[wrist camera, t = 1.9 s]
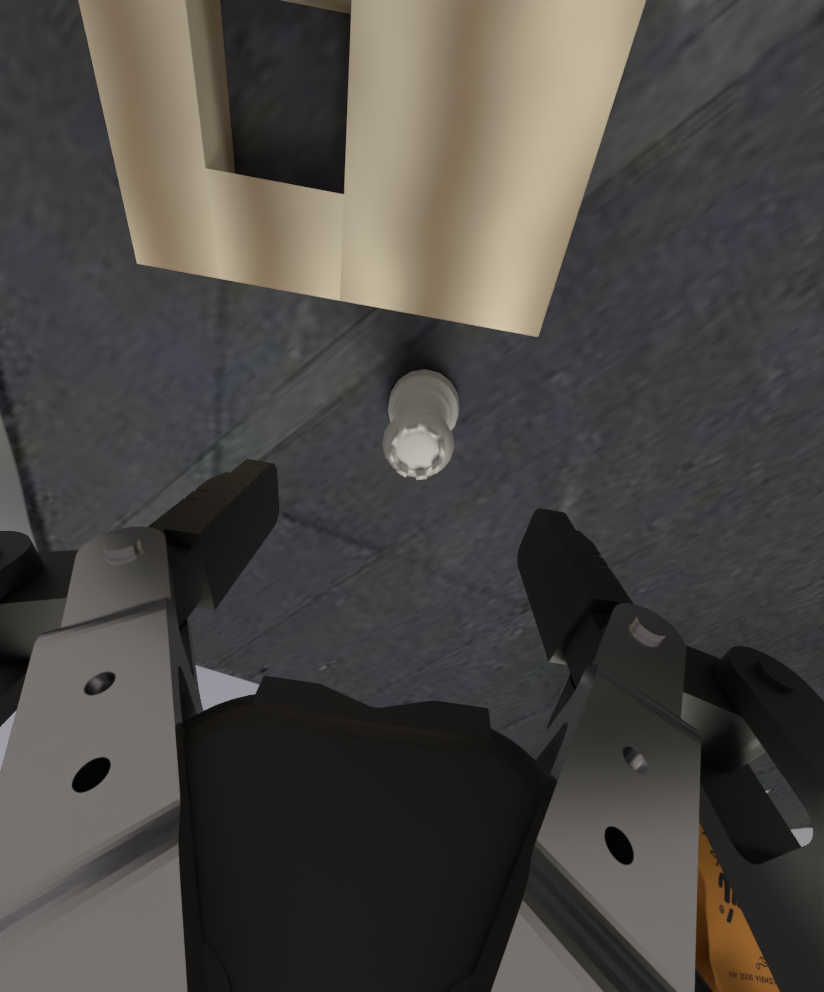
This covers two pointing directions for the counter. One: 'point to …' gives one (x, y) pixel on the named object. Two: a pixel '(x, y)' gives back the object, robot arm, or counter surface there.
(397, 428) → the rook chess piece
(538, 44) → the socket block
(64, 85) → the counter surface
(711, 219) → the counter surface
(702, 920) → the coffee package
